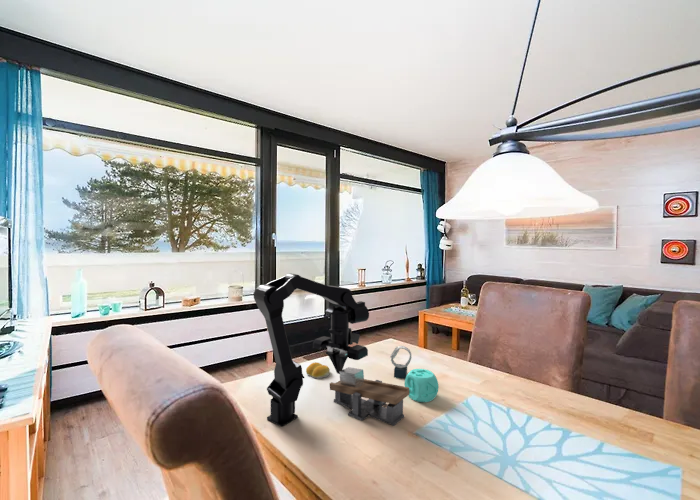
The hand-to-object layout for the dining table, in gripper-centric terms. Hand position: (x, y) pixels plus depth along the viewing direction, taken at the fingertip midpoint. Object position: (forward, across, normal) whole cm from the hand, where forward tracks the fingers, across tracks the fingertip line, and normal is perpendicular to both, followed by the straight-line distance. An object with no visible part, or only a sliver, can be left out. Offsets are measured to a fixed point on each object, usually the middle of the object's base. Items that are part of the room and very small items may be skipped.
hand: (339, 373), depth 113 cm
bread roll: (+9, +19, -10) cm, 23 cm away
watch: (+8, -7, -29) cm, 31 cm away
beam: (+2, -11, 0) cm, 12 cm away
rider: (+2, -5, 0) cm, 6 cm away
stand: (+8, -11, 0) cm, 14 cm away
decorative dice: (+8, -20, -18) cm, 28 cm away
